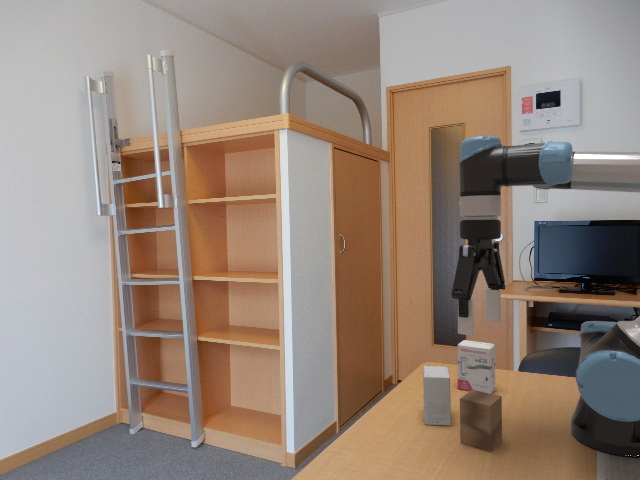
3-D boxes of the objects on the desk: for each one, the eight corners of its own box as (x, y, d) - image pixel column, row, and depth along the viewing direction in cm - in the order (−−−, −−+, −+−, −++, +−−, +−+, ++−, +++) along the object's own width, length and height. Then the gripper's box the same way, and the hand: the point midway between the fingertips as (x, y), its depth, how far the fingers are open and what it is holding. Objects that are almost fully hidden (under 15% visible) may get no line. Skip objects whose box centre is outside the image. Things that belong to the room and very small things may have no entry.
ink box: (456, 389, 122) (455, 343, 121) (462, 383, 126) (462, 339, 125) (490, 395, 117) (490, 348, 116) (496, 389, 121) (495, 343, 120)
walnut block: (502, 440, 93) (501, 396, 93) (490, 452, 89) (490, 405, 88) (472, 432, 97) (472, 389, 97) (460, 443, 92) (459, 398, 92)
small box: (451, 426, 100) (450, 377, 99) (424, 425, 101) (423, 376, 101) (448, 411, 108) (448, 366, 107) (423, 410, 109) (422, 365, 108)
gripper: (485, 218, 103) (485, 314, 104) (431, 219, 84) (432, 337, 85) (521, 217, 98) (521, 318, 99) (472, 219, 79) (472, 344, 80)
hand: (480, 327), depth 92 cm, fingers open, 13 cm apart
